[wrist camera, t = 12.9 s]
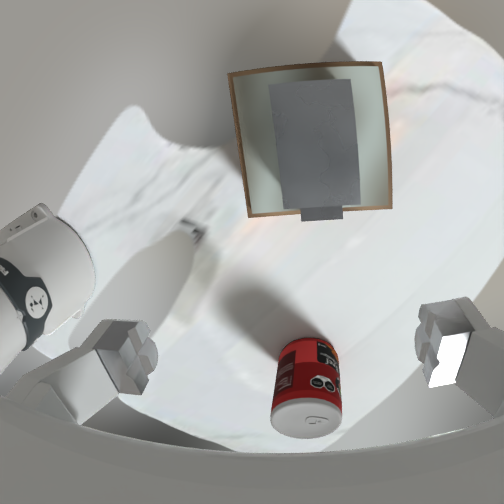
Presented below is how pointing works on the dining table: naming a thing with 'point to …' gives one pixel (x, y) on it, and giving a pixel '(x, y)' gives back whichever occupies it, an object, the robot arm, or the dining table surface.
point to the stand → (264, 144)
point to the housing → (316, 146)
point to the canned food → (307, 390)
